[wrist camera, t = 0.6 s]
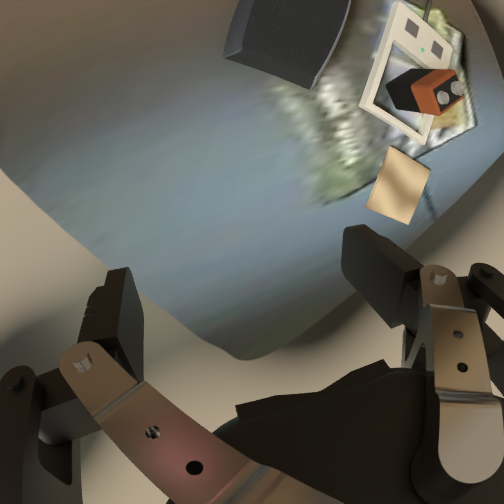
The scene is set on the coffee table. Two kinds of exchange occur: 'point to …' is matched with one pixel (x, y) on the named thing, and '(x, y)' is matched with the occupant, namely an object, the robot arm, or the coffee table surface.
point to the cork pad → (398, 186)
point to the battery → (426, 90)
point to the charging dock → (416, 47)
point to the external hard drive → (286, 36)
